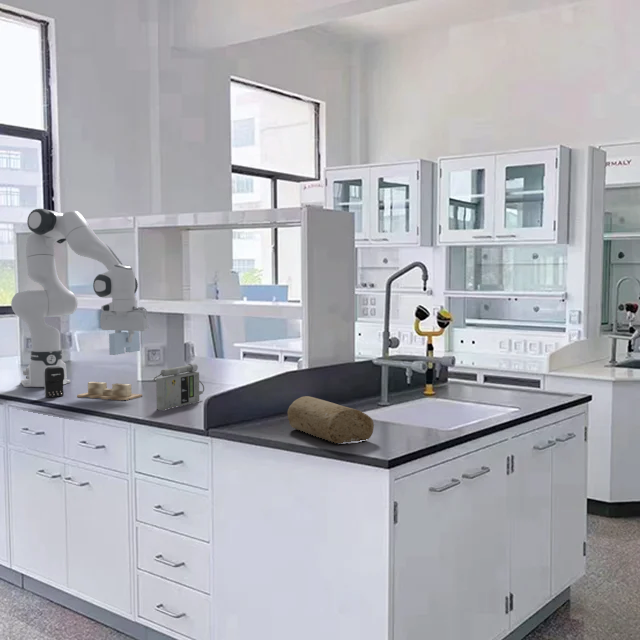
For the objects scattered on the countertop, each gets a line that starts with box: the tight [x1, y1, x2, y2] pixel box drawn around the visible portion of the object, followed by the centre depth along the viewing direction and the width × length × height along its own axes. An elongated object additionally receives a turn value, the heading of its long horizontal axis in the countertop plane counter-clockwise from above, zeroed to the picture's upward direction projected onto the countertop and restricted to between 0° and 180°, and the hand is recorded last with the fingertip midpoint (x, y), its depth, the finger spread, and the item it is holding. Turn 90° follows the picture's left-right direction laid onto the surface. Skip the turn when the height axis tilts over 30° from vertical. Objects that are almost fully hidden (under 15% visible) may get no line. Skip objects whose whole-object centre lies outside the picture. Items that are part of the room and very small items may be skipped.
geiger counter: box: [153, 362, 205, 411], centre depth 262 cm, size 14×6×25 cm
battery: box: [43, 366, 65, 398], centre depth 279 cm, size 7×4×11 cm, turn 132°
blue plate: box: [108, 331, 141, 356], centre depth 290 cm, size 16×2×8 cm, turn 158°
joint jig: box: [76, 381, 143, 401], centre depth 279 cm, size 22×10×5 cm, turn 68°
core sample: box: [286, 395, 375, 444], centre depth 212 cm, size 14×26×10 cm, turn 32°
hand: (124, 342), depth 290 cm, fingers closed on blue plate, 2 cm apart
